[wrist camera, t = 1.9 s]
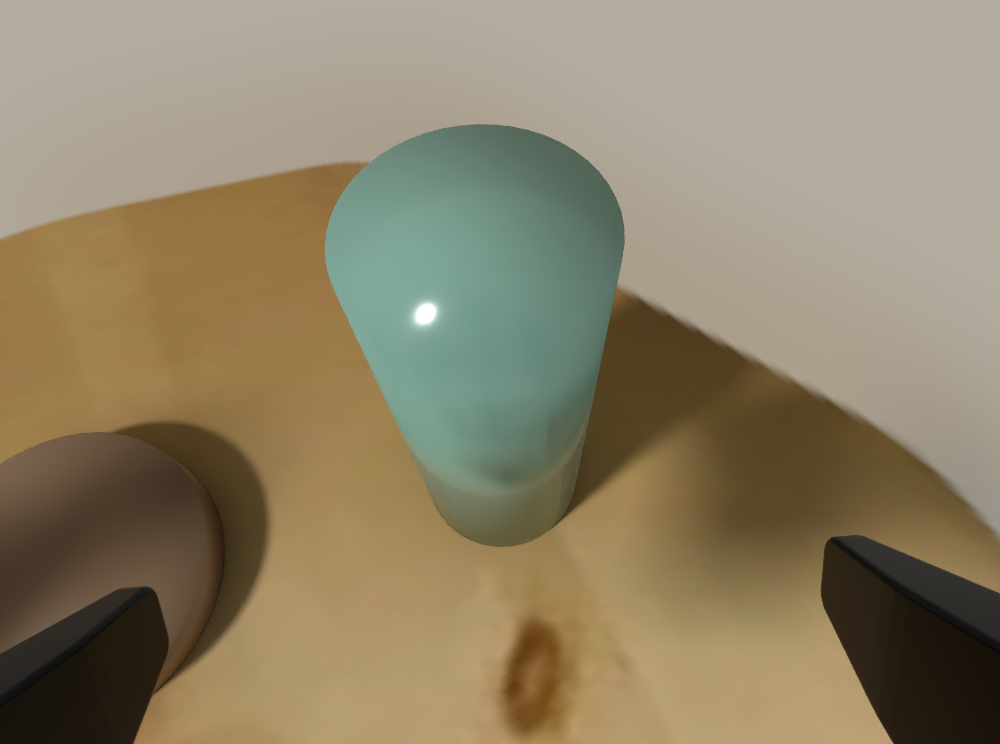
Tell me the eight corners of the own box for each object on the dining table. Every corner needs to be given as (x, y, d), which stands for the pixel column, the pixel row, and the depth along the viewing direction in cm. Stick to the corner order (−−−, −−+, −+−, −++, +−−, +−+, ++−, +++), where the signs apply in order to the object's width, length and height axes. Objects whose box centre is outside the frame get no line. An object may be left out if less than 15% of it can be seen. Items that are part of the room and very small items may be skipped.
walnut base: (278, 580, 21) (261, 571, 19) (13, 818, 18) (-28, 827, 17) (136, 400, 24) (113, 382, 22) (-107, 580, 21) (-150, 571, 20)
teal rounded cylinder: (607, 471, 22) (687, 226, 11) (501, 580, 20) (466, 426, 9) (502, 378, 24) (478, 86, 12) (398, 472, 22) (265, 235, 11)
